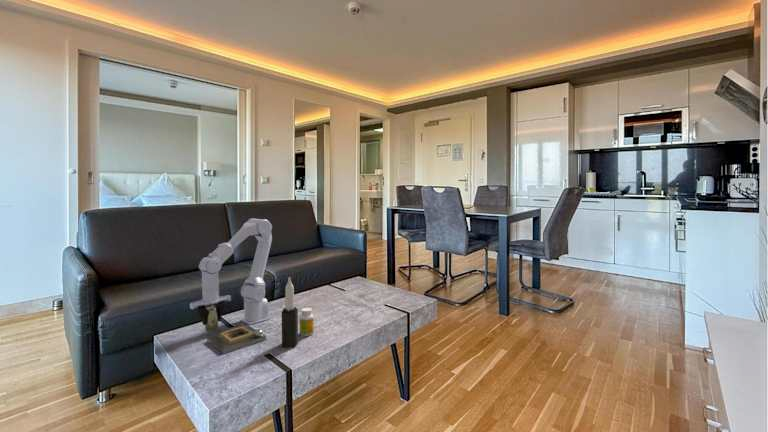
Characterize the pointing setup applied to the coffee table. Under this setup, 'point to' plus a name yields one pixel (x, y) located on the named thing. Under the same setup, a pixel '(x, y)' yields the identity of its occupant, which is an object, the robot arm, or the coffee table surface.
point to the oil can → (212, 318)
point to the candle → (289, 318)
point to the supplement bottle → (306, 322)
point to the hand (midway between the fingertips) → (211, 322)
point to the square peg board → (236, 339)
